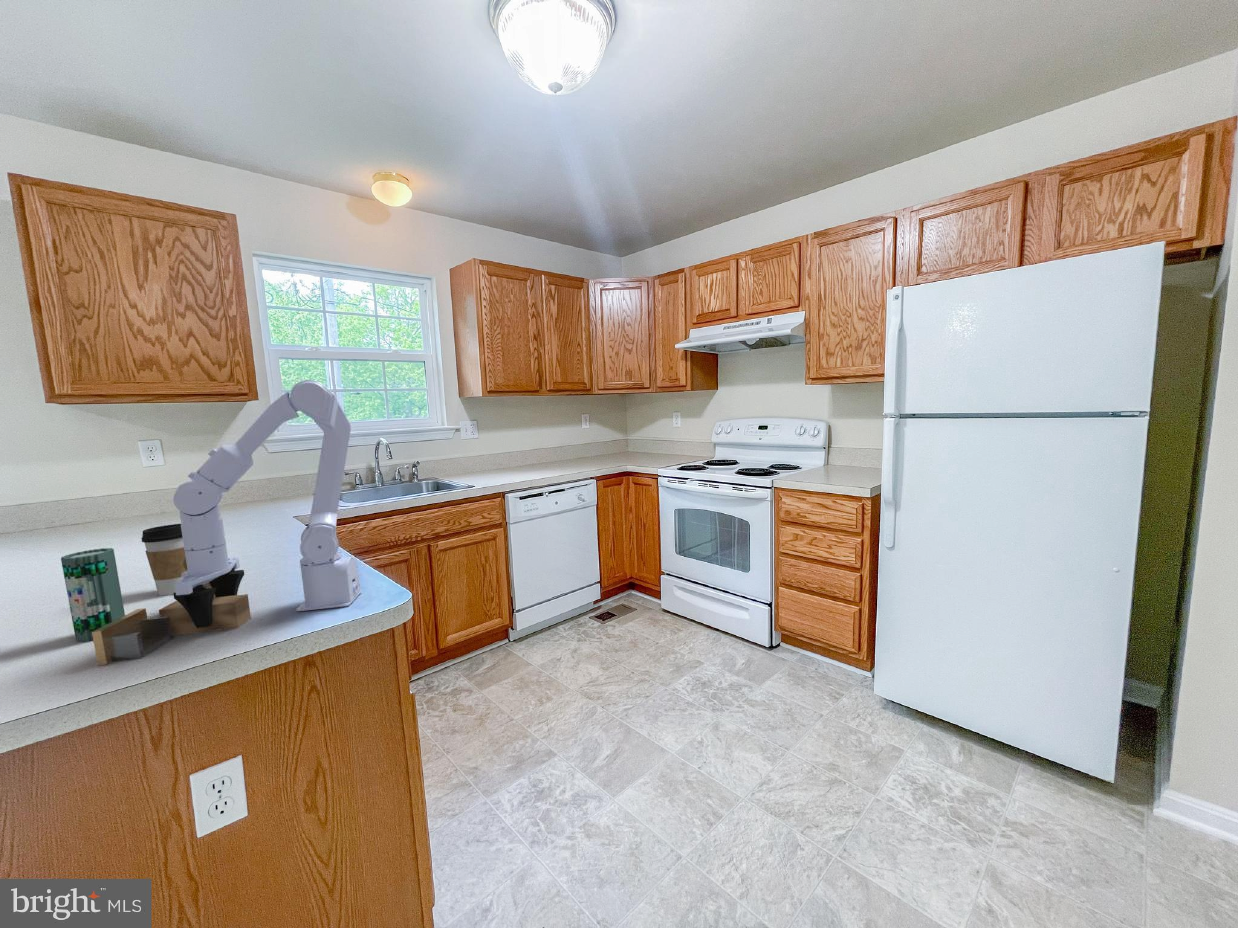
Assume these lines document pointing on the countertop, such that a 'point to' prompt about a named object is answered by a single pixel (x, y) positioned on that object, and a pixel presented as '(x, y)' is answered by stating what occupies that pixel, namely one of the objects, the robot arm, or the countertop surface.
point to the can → (92, 590)
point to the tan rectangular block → (224, 615)
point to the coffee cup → (165, 556)
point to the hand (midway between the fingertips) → (216, 618)
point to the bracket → (131, 637)
